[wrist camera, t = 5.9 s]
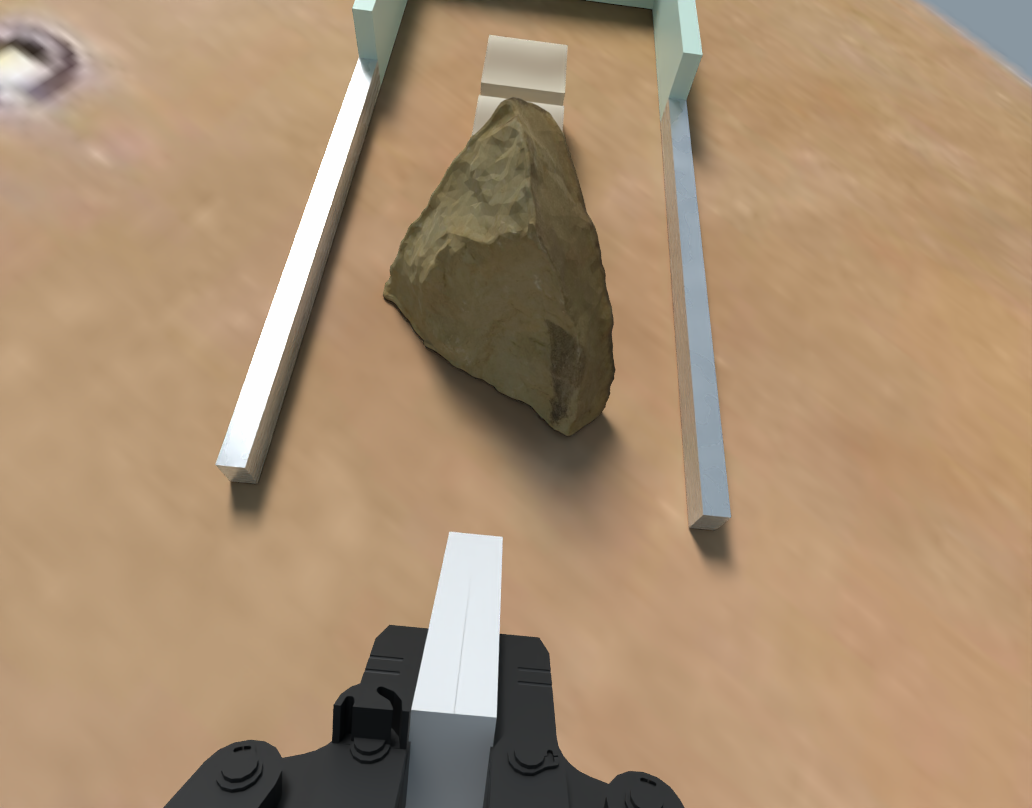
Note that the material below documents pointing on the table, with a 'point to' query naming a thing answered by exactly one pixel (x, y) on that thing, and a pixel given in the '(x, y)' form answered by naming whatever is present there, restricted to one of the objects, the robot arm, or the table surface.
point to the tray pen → (671, 3)
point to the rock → (513, 271)
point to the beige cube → (524, 70)
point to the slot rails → (311, 252)
